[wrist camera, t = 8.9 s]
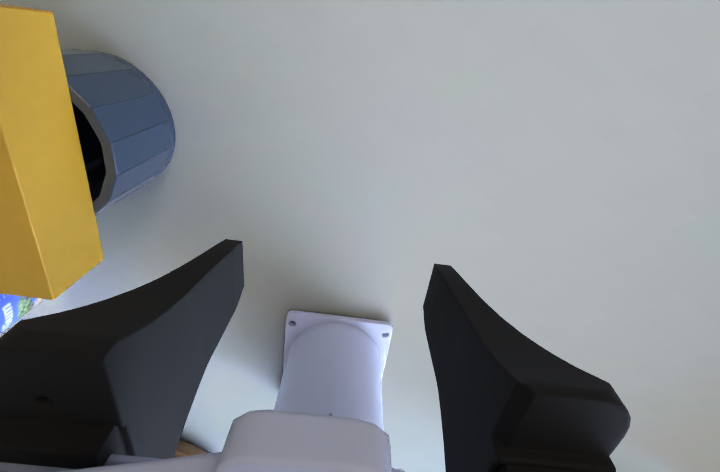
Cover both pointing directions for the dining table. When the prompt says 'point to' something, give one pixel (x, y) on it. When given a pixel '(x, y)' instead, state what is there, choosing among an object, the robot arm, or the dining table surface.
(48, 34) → the yellow rectangular block
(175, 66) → the dining table surface
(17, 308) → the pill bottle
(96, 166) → the cup
